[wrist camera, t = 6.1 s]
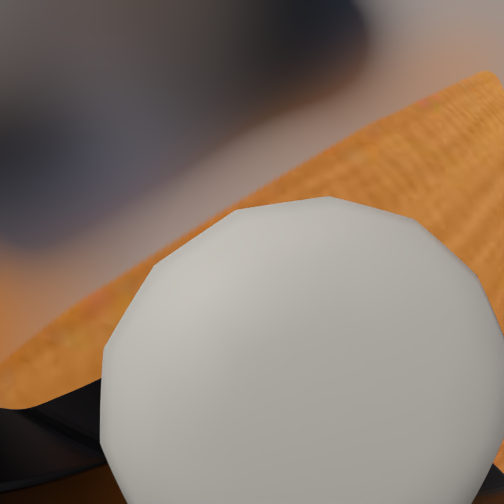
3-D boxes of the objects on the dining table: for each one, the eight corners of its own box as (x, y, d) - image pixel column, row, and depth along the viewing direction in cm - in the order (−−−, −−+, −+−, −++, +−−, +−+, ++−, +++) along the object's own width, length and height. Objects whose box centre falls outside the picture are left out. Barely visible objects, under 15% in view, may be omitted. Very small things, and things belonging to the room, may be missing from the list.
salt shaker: (351, 333, 15) (578, 199, 2) (319, 448, 13) (477, 627, 1) (232, 304, 15) (134, 70, 3) (198, 417, 13) (-18, 534, 1)
